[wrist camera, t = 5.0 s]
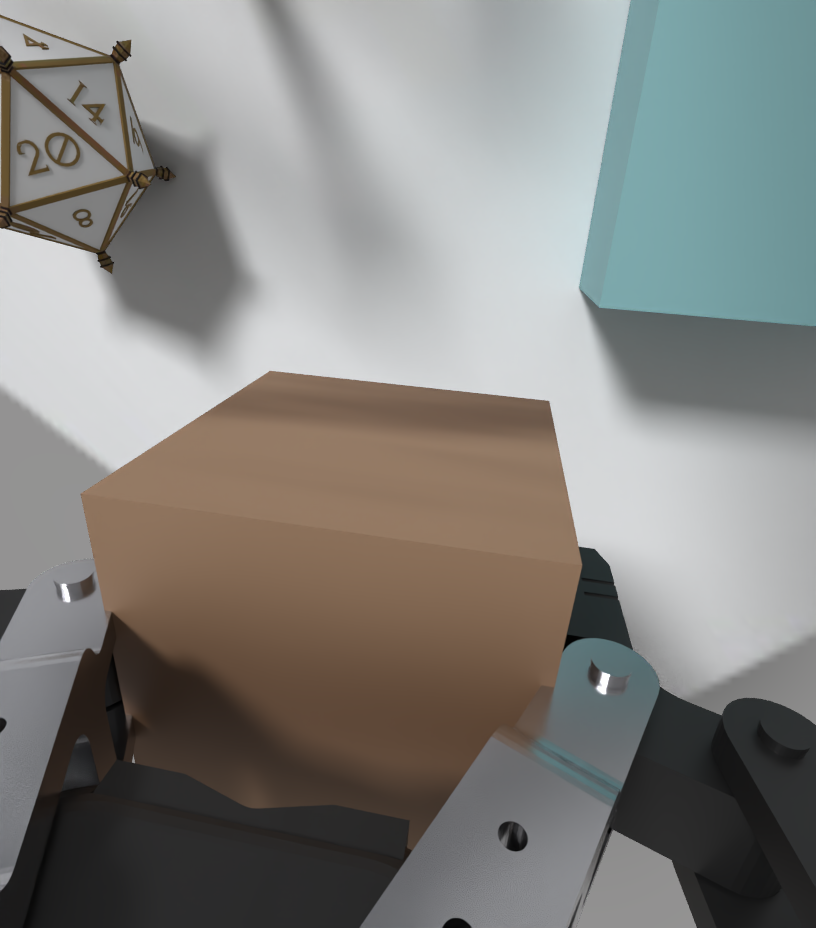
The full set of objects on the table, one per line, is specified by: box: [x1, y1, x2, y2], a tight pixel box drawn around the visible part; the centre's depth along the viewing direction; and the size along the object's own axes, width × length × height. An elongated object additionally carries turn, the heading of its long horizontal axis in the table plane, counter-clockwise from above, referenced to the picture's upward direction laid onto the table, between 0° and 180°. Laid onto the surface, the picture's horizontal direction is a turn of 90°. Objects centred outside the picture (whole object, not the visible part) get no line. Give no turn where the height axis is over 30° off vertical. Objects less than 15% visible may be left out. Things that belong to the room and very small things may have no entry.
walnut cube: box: [81, 371, 582, 851], centre depth 10 cm, size 6×6×6 cm
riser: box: [579, 0, 816, 326], centre depth 18 cm, size 12×12×6 cm
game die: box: [0, 15, 176, 274], centre depth 21 cm, size 9×8×10 cm
